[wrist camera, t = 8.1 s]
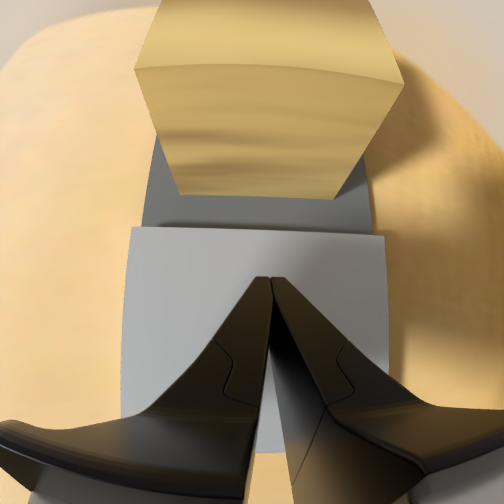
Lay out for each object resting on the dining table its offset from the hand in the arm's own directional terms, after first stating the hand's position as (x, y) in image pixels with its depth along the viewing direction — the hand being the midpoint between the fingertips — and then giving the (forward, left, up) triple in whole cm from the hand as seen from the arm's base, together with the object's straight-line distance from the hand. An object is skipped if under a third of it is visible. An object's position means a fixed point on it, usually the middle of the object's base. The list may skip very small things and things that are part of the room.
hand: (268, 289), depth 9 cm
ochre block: (+6, -7, -6) cm, 11 cm away
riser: (-1, +1, -7) cm, 7 cm away
